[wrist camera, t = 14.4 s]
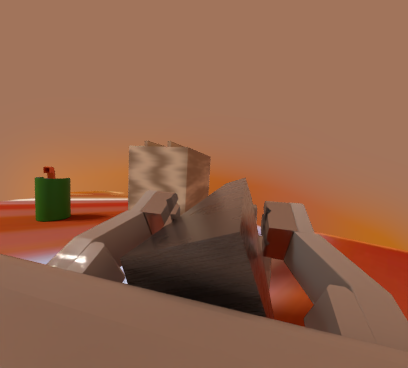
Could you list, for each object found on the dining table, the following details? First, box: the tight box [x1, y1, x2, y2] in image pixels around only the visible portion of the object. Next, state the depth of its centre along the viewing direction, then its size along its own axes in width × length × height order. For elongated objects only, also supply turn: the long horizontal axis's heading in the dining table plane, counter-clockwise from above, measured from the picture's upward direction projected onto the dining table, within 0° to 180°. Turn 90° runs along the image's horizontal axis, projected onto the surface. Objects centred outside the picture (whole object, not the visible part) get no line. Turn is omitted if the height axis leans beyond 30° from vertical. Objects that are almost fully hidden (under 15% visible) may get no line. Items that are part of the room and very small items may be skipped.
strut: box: [120, 178, 274, 319], centre depth 17 cm, size 4×26×4 cm, turn 166°
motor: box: [35, 167, 71, 221], centre depth 64 cm, size 10×9×20 cm
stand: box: [128, 141, 210, 216], centre depth 42 cm, size 12×20×27 cm, turn 166°
